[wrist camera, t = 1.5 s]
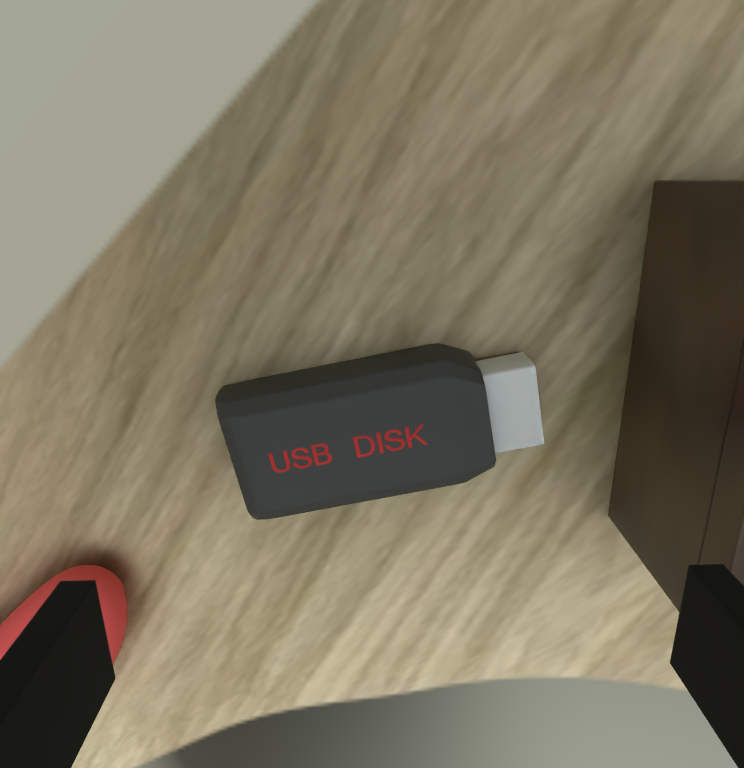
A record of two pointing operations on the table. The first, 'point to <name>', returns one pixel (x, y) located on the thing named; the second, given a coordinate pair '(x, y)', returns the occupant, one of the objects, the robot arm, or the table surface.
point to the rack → (686, 388)
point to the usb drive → (376, 427)
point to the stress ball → (109, 597)
